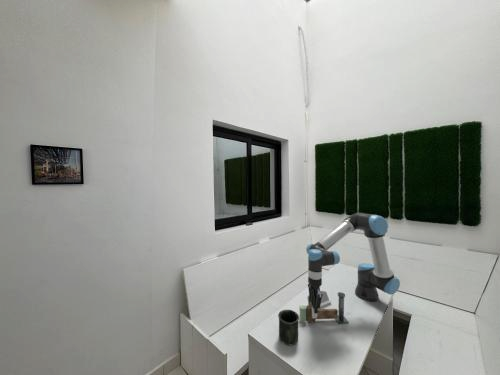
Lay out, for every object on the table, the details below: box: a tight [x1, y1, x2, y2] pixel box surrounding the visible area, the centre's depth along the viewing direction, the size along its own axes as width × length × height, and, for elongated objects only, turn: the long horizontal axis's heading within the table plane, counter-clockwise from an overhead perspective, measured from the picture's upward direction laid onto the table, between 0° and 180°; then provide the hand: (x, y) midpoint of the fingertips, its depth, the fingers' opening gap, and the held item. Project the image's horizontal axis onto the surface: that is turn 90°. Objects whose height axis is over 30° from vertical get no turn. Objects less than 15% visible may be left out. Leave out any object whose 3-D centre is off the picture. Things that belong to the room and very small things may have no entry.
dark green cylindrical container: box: [277, 309, 300, 346], centre depth 107 cm, size 11×15×12 cm
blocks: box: [299, 305, 307, 323], centre depth 121 cm, size 6×6×8 cm
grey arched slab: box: [307, 290, 332, 309], centre depth 135 cm, size 17×5×10 cm, turn 118°
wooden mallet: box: [306, 304, 338, 324], centre depth 119 cm, size 18×4×8 cm, turn 92°
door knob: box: [335, 291, 350, 325], centre depth 120 cm, size 6×6×16 cm
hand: (314, 317), depth 115 cm, fingers closed
